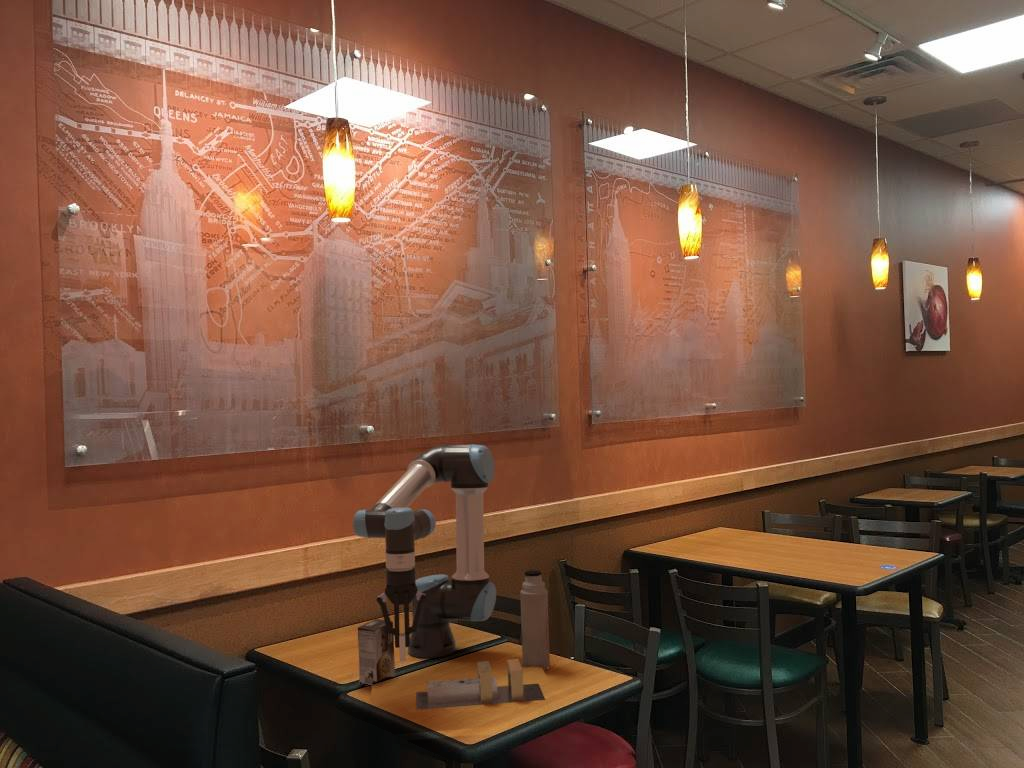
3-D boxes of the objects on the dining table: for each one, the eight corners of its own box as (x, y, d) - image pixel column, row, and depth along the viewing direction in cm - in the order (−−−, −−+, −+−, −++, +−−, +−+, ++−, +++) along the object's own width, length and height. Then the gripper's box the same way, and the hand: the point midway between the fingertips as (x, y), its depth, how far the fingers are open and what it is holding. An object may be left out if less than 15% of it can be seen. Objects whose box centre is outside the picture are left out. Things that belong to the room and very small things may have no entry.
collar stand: (416, 698, 223) (415, 664, 223) (538, 689, 226) (537, 655, 226) (416, 715, 211) (415, 679, 211) (545, 705, 215) (544, 670, 215)
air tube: (427, 697, 219) (427, 681, 219) (495, 692, 221) (495, 676, 221) (428, 702, 215) (427, 686, 215) (497, 697, 217) (496, 681, 217)
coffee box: (377, 674, 243) (375, 618, 243) (395, 676, 240) (394, 620, 240) (358, 684, 234) (356, 627, 235) (377, 687, 232) (375, 629, 232)
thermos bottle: (551, 662, 248) (548, 568, 248) (547, 672, 240) (544, 574, 240) (525, 662, 249) (522, 568, 249) (520, 671, 241) (517, 574, 242)
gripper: (374, 572, 212) (376, 665, 212) (426, 569, 213) (428, 662, 213) (375, 566, 219) (377, 656, 219) (425, 564, 221) (427, 653, 221)
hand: (402, 659), depth 216 cm, fingers closed
